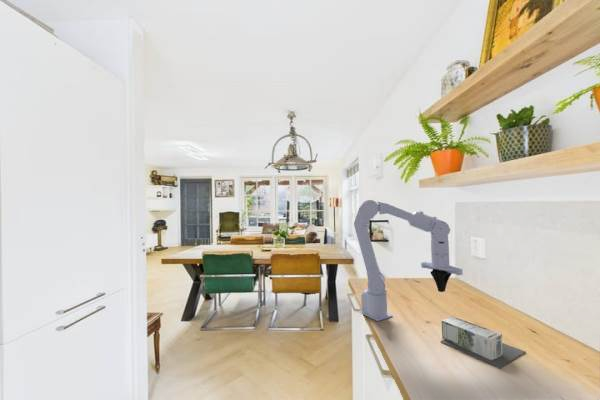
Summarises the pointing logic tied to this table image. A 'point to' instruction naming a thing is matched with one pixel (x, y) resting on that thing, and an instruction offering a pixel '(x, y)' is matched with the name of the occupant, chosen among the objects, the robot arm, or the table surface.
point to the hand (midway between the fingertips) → (441, 291)
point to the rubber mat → (504, 359)
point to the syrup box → (472, 337)
